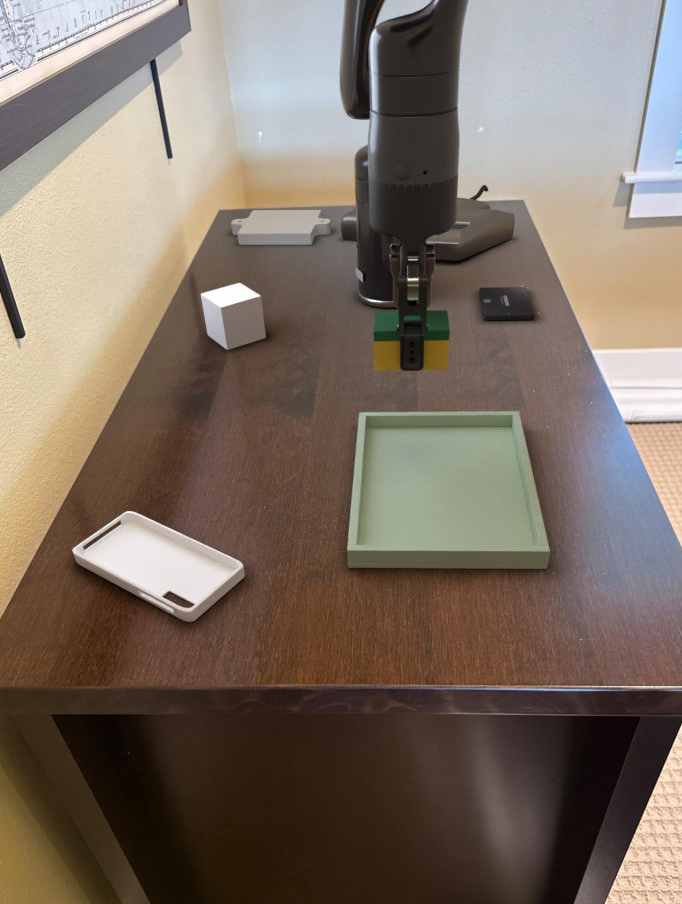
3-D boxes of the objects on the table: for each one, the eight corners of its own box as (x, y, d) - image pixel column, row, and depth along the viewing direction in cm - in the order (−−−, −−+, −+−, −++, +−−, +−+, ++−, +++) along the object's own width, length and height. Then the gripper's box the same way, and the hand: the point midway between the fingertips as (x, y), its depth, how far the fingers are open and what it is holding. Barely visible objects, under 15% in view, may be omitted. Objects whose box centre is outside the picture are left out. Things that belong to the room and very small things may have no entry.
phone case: (248, 574, 69) (132, 519, 76) (246, 563, 68) (128, 508, 75) (190, 625, 64) (72, 561, 71) (187, 613, 64) (68, 550, 70)
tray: (359, 428, 87) (359, 412, 86) (517, 427, 86) (519, 410, 85) (348, 568, 69) (346, 550, 68) (547, 569, 68) (550, 551, 67)
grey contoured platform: (472, 176, 144) (539, 220, 123) (470, 206, 148) (535, 254, 127) (327, 194, 139) (371, 243, 118) (328, 224, 143) (371, 277, 122)
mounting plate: (335, 220, 144) (334, 209, 143) (325, 244, 134) (325, 233, 133) (241, 220, 146) (239, 210, 145) (224, 244, 136) (223, 233, 135)
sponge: (375, 349, 77) (374, 311, 75) (446, 348, 77) (447, 309, 74) (374, 370, 74) (373, 331, 71) (448, 369, 73) (449, 330, 71)
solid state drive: (483, 320, 108) (484, 315, 107) (478, 291, 115) (479, 287, 115) (534, 319, 107) (535, 314, 107) (526, 291, 115) (526, 286, 115)
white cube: (227, 350, 104) (220, 307, 100) (207, 335, 108) (200, 293, 104) (266, 337, 107) (261, 295, 103) (245, 323, 110) (239, 282, 107)
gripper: (463, 191, 59) (453, 392, 69) (454, 146, 70) (447, 325, 80) (364, 194, 59) (370, 393, 70) (371, 148, 70) (375, 326, 81)
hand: (411, 355), depth 75 cm, fingers closed on sponge, 4 cm apart
